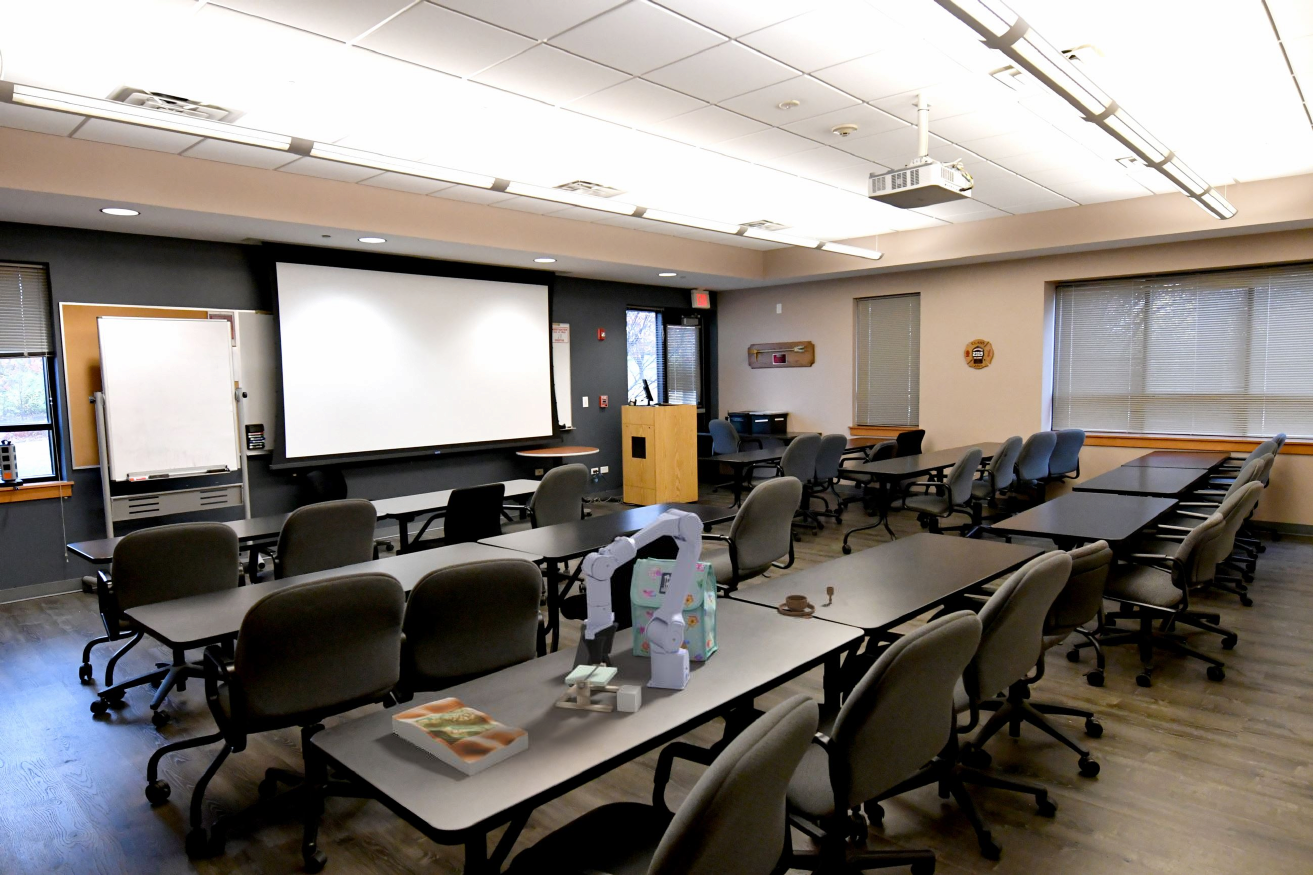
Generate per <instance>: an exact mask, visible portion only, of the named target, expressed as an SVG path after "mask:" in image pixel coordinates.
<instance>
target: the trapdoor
mask: <svg viewBox="0 0 1313 875" xmlns="http://www.w3.org/2000/svg"><path fill="white" fill-rule="evenodd" d="M617 673H618V667H612V668H611V667H599V666H585V665H579V666H578V667H577V668H576V669H575V670H572V671H571V673H569V674H568V676H566V677H565V679H564V684H568V687H570V688H571V687H573V686H574V685H575V684H576V681H577V680H588V681H590V685H595V686H605V685H606V684H607V685H608V683H609V682H610V681H611V680H612V678H614V676H615V675H616V674H617Z"/></svg>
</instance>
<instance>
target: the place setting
mask: <svg viewBox="0 0 1313 875" xmlns="http://www.w3.org/2000/svg"><path fill="white" fill-rule="evenodd" d="M834 592H835V587H834V586H827V587H826V595H827V596H828V597H829V598H828V601H829V602H828V604H831V605H833V602H832V601H833V599H832V598H833V596H834V595H835V593H834ZM777 607H778V611H779V612H780V613H781V614H783V615H786V616H793V617H795V619H811V618H813V615H812V614H814V612H815V611H816V606H815V605H814V604H812V603H811V602H810V601H808V598H807V596H806V595H800V594H790V595H787V596H786V597H785V602H783V603H781V604H779V605H778V606H777ZM784 608H787V609H789V610H790V611H787V610H784ZM807 608H808V609H810V610H809V611H804V610H805V609H807Z"/></svg>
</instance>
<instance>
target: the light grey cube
mask: <svg viewBox="0 0 1313 875" xmlns="http://www.w3.org/2000/svg"><path fill="white" fill-rule="evenodd" d="M620 687H621V688H620V689H619V690H618V691H617V692H616V708H617V709H616V710H617V711H618V712H627V713H637V711H638V710H639V709H640V708H641V706H642V686H641V685H640V686H639V685H629V684H623V685H622V686H620ZM617 711H616V712H617Z"/></svg>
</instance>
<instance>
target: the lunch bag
mask: <svg viewBox="0 0 1313 875" xmlns="http://www.w3.org/2000/svg"><path fill="white" fill-rule="evenodd" d="M675 561H676V559H657V558H652V557H648V558H646V559H645V558H643V559H640V558H638V559H637V560H636V562H635V564H633V570H632V576H631V577H632V578H631V583H630V584H631V585H630V593H629V595H630V606H631V608H630V610H631V621H632V634H633V636H632V637H633V642H632V648H633V649H632V655H633V656H639V657H645V658H651V646H650V641H649V640H648V639H647V637H646V635H645V629H646V626H647V624H648V622H649V621H650V620H651V619H652V617H653V614H654V612H655V611H657V610H658V609H659V608H661V606H662V603H663V599H664V596H665V593H666V590H667V587H668V584H669V580H670V577H671V574H672V571H673V568H674V565H675ZM713 567H714V566H713V564H712V563H711V562H704V561H698V563H697V566H696V569H695V572H694V575H693V579H692V582H691V585H690V588H689V591H688V595H687V598H686V601H685V604H684V607H683V611H682V618H683V620H684V623H685V627H684V632H683V633H684V640H683V643H682V645H681V647H680V648H682V649H686V650H688V653H689V661H695V662H697V661H698V662H702V661H707V660H708V658H709V657H710V656H711V654H712V653H713V652H714V651H717V650H718V648H719V646H718V643H717V612H718V611H717V610H718V609H717V603H718V602H717V599H718V593H717V591H718V590H717V580H716V575H715V571H714V568H713Z"/></svg>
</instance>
